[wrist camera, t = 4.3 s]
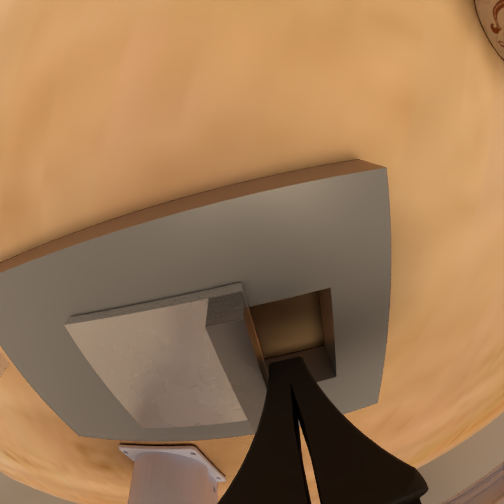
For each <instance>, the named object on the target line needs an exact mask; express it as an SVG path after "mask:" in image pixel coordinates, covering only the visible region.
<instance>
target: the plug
mask: <svg viewBox="0 0 504 504" xmlns="http://www.w3.org/2000/svg"><path fill="white" fill-rule="evenodd" d="M8 364H9V362H8V361H7V359H6V358H5V357H4V355H3V354H2V352H1V351H0V377H1V375H2V374H3V372H4V370H5V369H6V367H7V366H8Z"/></svg>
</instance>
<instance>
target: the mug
mask: <svg viewBox="0 0 504 504" xmlns="http://www.w3.org/2000/svg"><path fill="white" fill-rule="evenodd" d="M475 5H476V10H477V13H478V16H479V19H480V22H481V24H482V27H483V29H484V31H485V33H486V35H487V37H488V38H489V40H490V42H491V44H492V45H493V47H494V48H495V50H496V51H497V52H498V54H499V55H500V56H501V57H502V59H503V60H504V0H475Z"/></svg>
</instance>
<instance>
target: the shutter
mask: <svg viewBox="0 0 504 504" xmlns="http://www.w3.org/2000/svg"><path fill="white" fill-rule="evenodd" d="M64 326H65V327H66V329H67V331H68V332H69V334H70V335H71V337H72V338H73V340H74V341H75V343H76V345H77V346H78V348H79V349H80V350H81V352H82V353H83V355H84V356H85V358H86V359H87V361H88V362H89V363H90V365H91V366H92V367H93V369H94V370H95V372H96V373H97V374H98V376H99V377H100V378H101V379H102V381H103V382H104V383H105V385H106V386H107V387H108V388H109V390H110V391H111V392H112V393H113V395H114V396H115V397H116V398H117V399H118V401H119V402H120V403H121V404H122V405H123V406H124V408H125V409H126V410H127V411H128V412H129V413H130V414H131V415H132V417H133V418H134V419H135V420H136V421H137V422H138V423H139V424H140V425H141V426H142V427H143V428H169V427H189V426H202V425H213V424H222V423H230V422H238V421H245V420H248V422H249V424H250V425H251V427H252V429H253V431H254V433H255V434H256V431H257V428H258V425H259V421H260V418H261V414H262V411H263V407H264V402H265V398H266V393H267V386H268V378H269V373H268V370H267V366H266V363H265V360H264V357H263V353H262V350H261V347H260V343H259V340H258V336H257V333H256V330H255V326H254V323H253V320H252V316H251V313H250V309H249V306H248V302H247V299H246V296H245V292H244V289H243V285H242V282H241V283H236V284H232V285H227V286H223V287H218V288H214V289H209V290H205V291H200V292H195V293H191V294H186V295H181V296H176V297H172V298H167V299H162V300H157V301H152V302H147V303H142V304H137V305H132V306H127V307H122V308H116V309H111V310H106V311H101V312H95V313H90V314H84V315H79V316H73V317H69V319H68V320H67V322H66V323H65V324H64Z"/></svg>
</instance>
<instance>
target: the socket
mask: <svg viewBox="0 0 504 504" xmlns="http://www.w3.org/2000/svg"><path fill="white" fill-rule="evenodd" d="M241 282H242V285H243V289H244V292H245V296H246V299H247V302H248V306H249V307H252V306H256V305H261V304H265V303H270V302H274V301H278V300H282V299H287V298H291V297H295V296H299V295H303V294H307V293H311V292H315V291H319V298H320V307H321V315H322V325H323V335H324V346H320V347H316V348H313V349H309V350H305V351H301V352H297V353H292V354H288V355H284V356H279V357H275V358H270V359H266V360H265V363H266V366H267V370H268V373H269V364H270V363H272V362H277V361H281V360H286V359H290V358H294V357H298V356H300V357H302V358H303V360H304V362H305V364H306V366H307V368H308V370H309V372H310V373H311V375H312V376H313V378H314V379H315V381H316V382H317V384H318V385H319V387H320V388H321V389H322V391H323V392H324V393H325V395H326V396H327V397H328V398H329V400H330V401H331V402H332V403H333V404H334V405H335V407H336V408H337V409H338V410H339V411H340V412H341V413H342V414H346V413H349V412H352V411H355V410H358V409H361V408H364V407H367V406H370V405H373V404H376V403H378V398H379V392H380V386H381V380H382V374H383V367H384V360H385V352H386V343H387V333H388V322H389V308H390V290H391V221H390V202H389V189H388V177H387V168H386V167H383V166H379V165H376V164H373V163H370V162H366V161H363V160H359V159H357V160H351V161H345V162H339V163H334V164H328V165H322V166H317V167H312V168H307V169H302V170H297V171H292V172H287V173H282V174H277V175H273V176H268V177H264V178H259V179H255V180H251V181H246V182H242V183H238V184H234V185H230V186H226V187H222V188H218V189H214V190H210V191H206V192H203V193H199V194H195V195H192V196H188V197H184V198H181V199H177V200H174V201H170V202H167V203H163V204H160V205H157V206H153V207H150V208H147V209H144V210H140V211H137V212H134V213H131V214H128V215H125V216H122V217H119V218H116V219H113V220H110V221H107V222H104V223H101V224H98V225H95V226H92V227H89V228H87V229H84V230H81V231H78V232H75V233H73V234H70V235H67V236H65V237H62V238H59V239H57V240H54V241H52V242H49V243H47V244H44V245H42V246H39V247H37V248H34V249H32V250H29V251H27V252H25V253H22V254H20V255H17V256H15V257H13V258H11V259H8V260H6V261H4V262H2V263H0V346H1V347H2V349H3V350H4V351H5V353H6V354H7V356H8V357H9V358H10V360H11V361H12V363H13V364H14V365H15V367H16V368H17V369H18V370H19V372H20V373H21V374H22V376H23V377H24V378H25V379H26V381H27V382H28V383H29V384H30V385H31V387H32V388H33V389H34V390H35V391H36V392H37V394H38V395H39V396H40V397H41V398H42V399H43V400H44V401H45V402H46V404H47V405H48V406H49V407H50V408H51V409H52V410H53V411H54V412H55V413H56V414H57V415H58V416H59V417H60V418H61V419H62V420H63V421H64V422H65V423H66V424H67V425H68V426H69V427H70V428H71V429H72V430H73V431H74V432H76V433H77V434H78V435H79V436H83V437H91V438H100V439H111V440H126V441H194V440H208V439H220V438H229V437H238V436H245V435H252V434H255V433H254V431H253V429H252V427H251V425H250V424H249V422H248V420H245V421H238V422H230V423H222V424H213V425H202V426H189V427H169V428H143V427H142V426H141V425H140V424H139V423H138V422H137V421H136V420H135V419H134V418H133V417H132V415H131V414H130V413H129V412H128V411H127V410H126V409H125V408H124V406H123V405H122V404H121V403H120V402H119V401H118V399H117V398H116V397H115V396H114V395H113V393H112V392H111V391H110V390H109V388H108V387H107V386H106V385H105V383H104V382H103V381H102V379H101V378H100V377H99V376H98V374H97V373H96V372H95V370H94V369H93V367H92V366H91V365H90V363H89V362H88V361H87V359H86V358H85V356H84V355H83V353H82V352H81V350H80V349H79V348H78V346H77V345H76V343H75V341H74V340H73V338H72V337H71V335H70V334H69V332H68V331H67V329H66V327H65V326H64V324H65V323H66V322H67V320H68V319H69V317H73V316H79V315H84V314H90V313H95V312H101V311H106V310H111V309H116V308H122V307H127V306H132V305H137V304H142V303H147V302H152V301H157V300H162V299H167V298H172V297H176V296H181V295H186V294H191V293H195V292H200V291H205V290H209V289H214V288H218V287H223V286H227V285H232V284H236V283H241ZM298 421H299V420H298ZM299 426H300V423H299Z"/></svg>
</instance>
